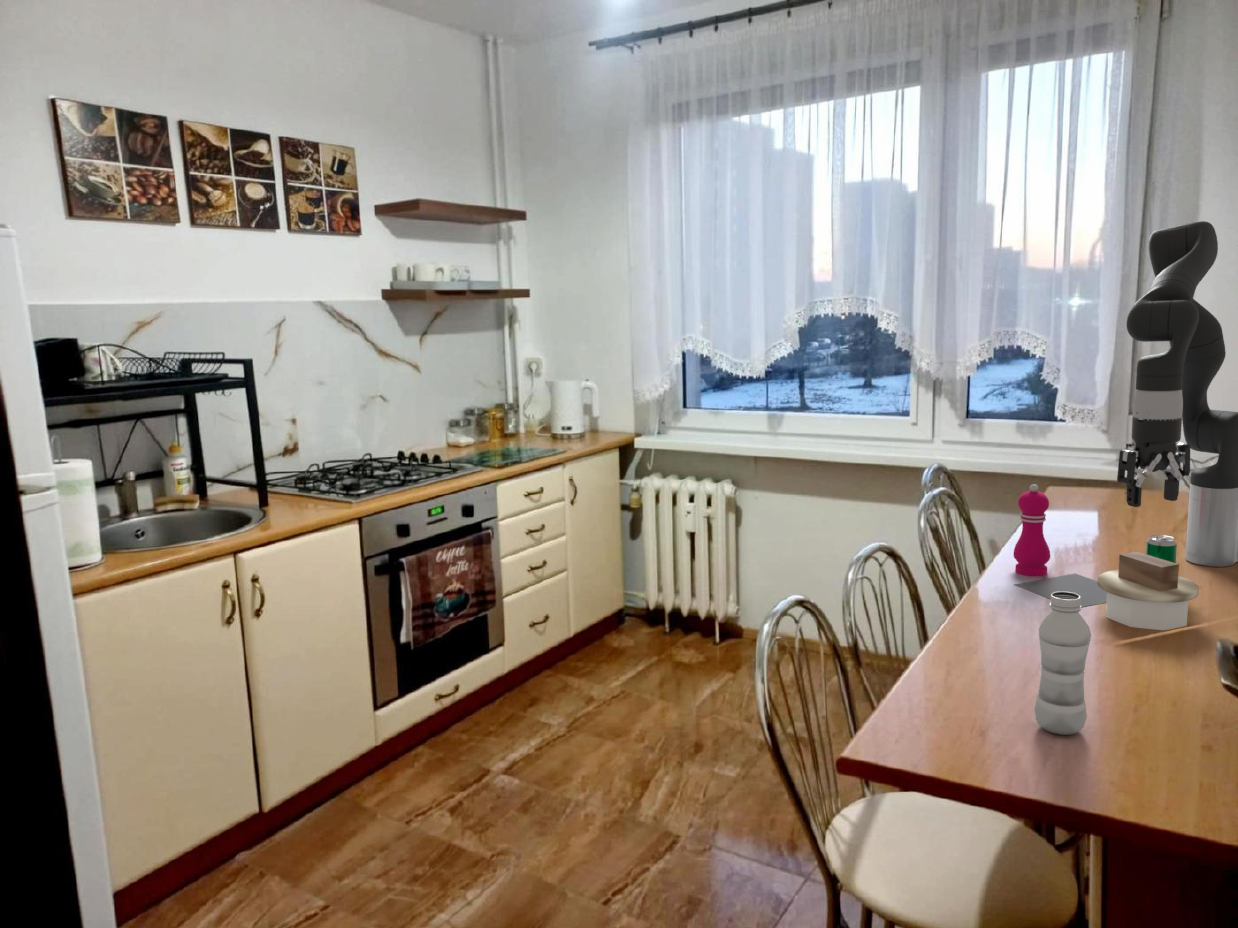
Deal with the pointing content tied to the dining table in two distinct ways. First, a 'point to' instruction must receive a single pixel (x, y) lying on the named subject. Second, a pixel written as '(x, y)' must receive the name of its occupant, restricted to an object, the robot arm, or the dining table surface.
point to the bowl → (1146, 613)
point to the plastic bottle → (1063, 666)
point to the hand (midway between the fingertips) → (1152, 503)
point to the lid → (1148, 580)
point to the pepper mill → (1032, 534)
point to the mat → (1068, 588)
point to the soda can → (1162, 547)
